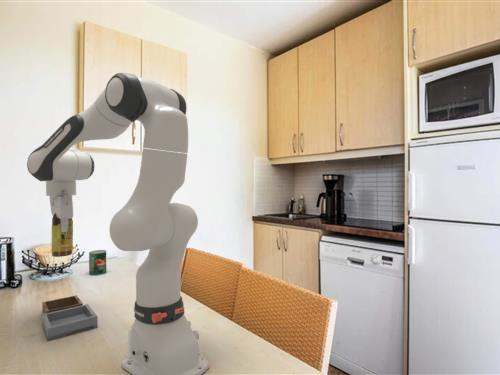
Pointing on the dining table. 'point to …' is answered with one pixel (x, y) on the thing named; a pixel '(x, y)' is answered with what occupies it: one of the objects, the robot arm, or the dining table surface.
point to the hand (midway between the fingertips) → (62, 230)
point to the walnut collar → (60, 304)
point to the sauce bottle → (61, 238)
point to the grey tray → (69, 321)
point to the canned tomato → (97, 262)
